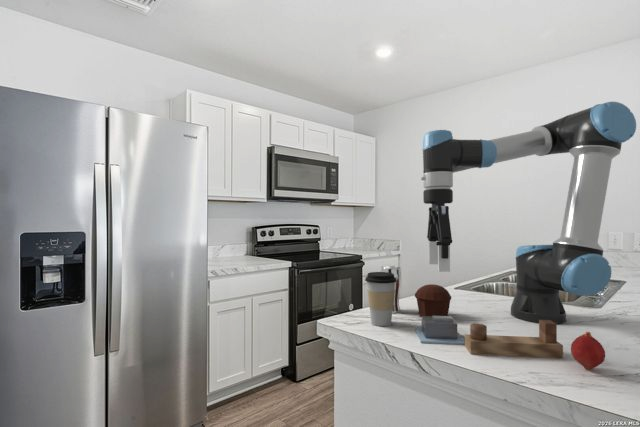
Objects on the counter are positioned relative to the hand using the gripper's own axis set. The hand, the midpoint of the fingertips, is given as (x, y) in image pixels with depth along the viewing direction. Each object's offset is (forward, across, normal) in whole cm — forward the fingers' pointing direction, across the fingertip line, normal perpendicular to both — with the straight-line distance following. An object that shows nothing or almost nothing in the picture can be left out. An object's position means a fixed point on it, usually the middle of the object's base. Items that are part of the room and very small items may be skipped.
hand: (438, 267), depth 95 cm
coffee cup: (+19, -10, -15) cm, 26 cm away
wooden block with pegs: (+19, +9, +15) cm, 25 cm away
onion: (+19, +17, +27) cm, 37 cm away
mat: (+18, 0, 0) cm, 19 cm away
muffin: (+19, -20, +2) cm, 27 cm away
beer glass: (+19, -25, -11) cm, 33 cm away
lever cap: (+18, 0, 0) cm, 18 cm away
